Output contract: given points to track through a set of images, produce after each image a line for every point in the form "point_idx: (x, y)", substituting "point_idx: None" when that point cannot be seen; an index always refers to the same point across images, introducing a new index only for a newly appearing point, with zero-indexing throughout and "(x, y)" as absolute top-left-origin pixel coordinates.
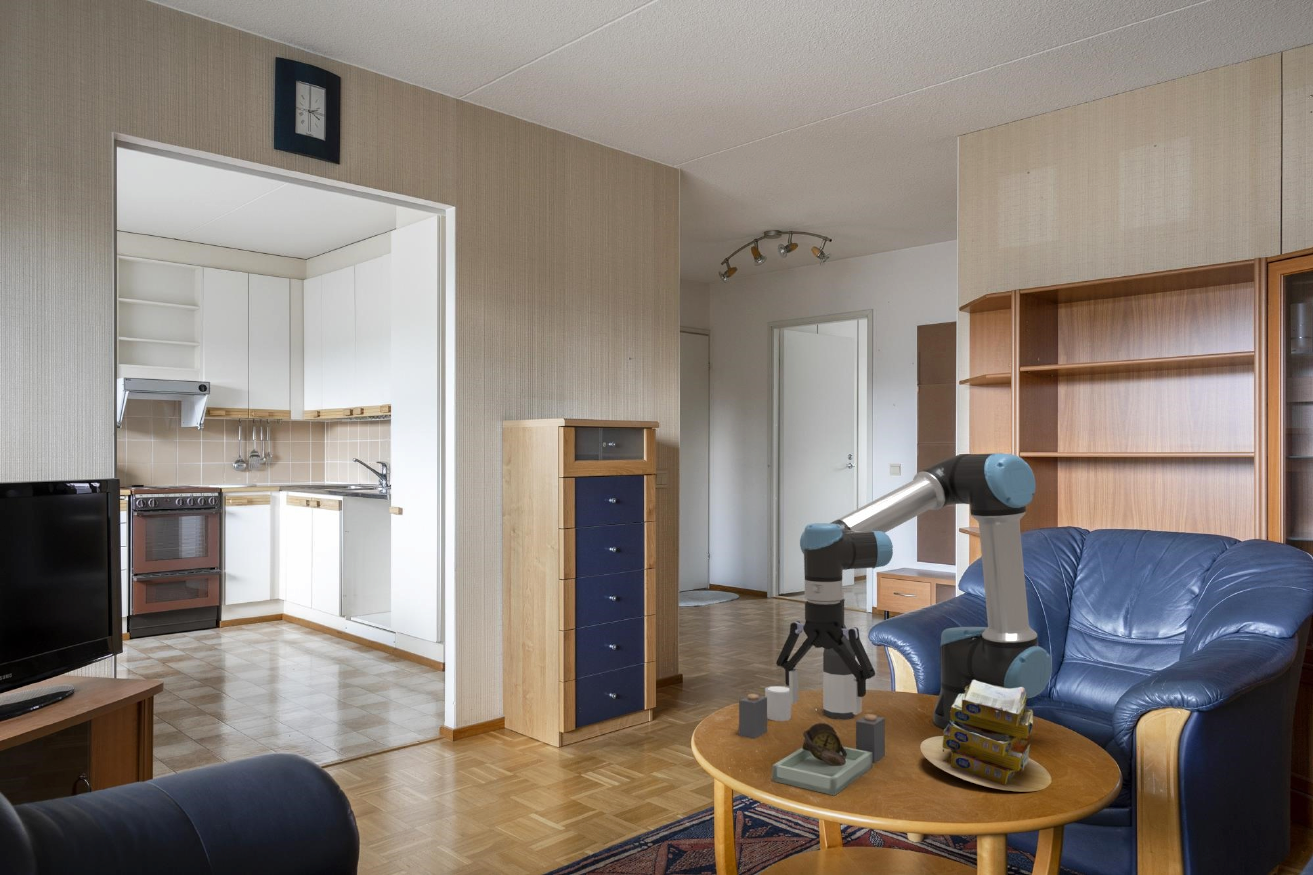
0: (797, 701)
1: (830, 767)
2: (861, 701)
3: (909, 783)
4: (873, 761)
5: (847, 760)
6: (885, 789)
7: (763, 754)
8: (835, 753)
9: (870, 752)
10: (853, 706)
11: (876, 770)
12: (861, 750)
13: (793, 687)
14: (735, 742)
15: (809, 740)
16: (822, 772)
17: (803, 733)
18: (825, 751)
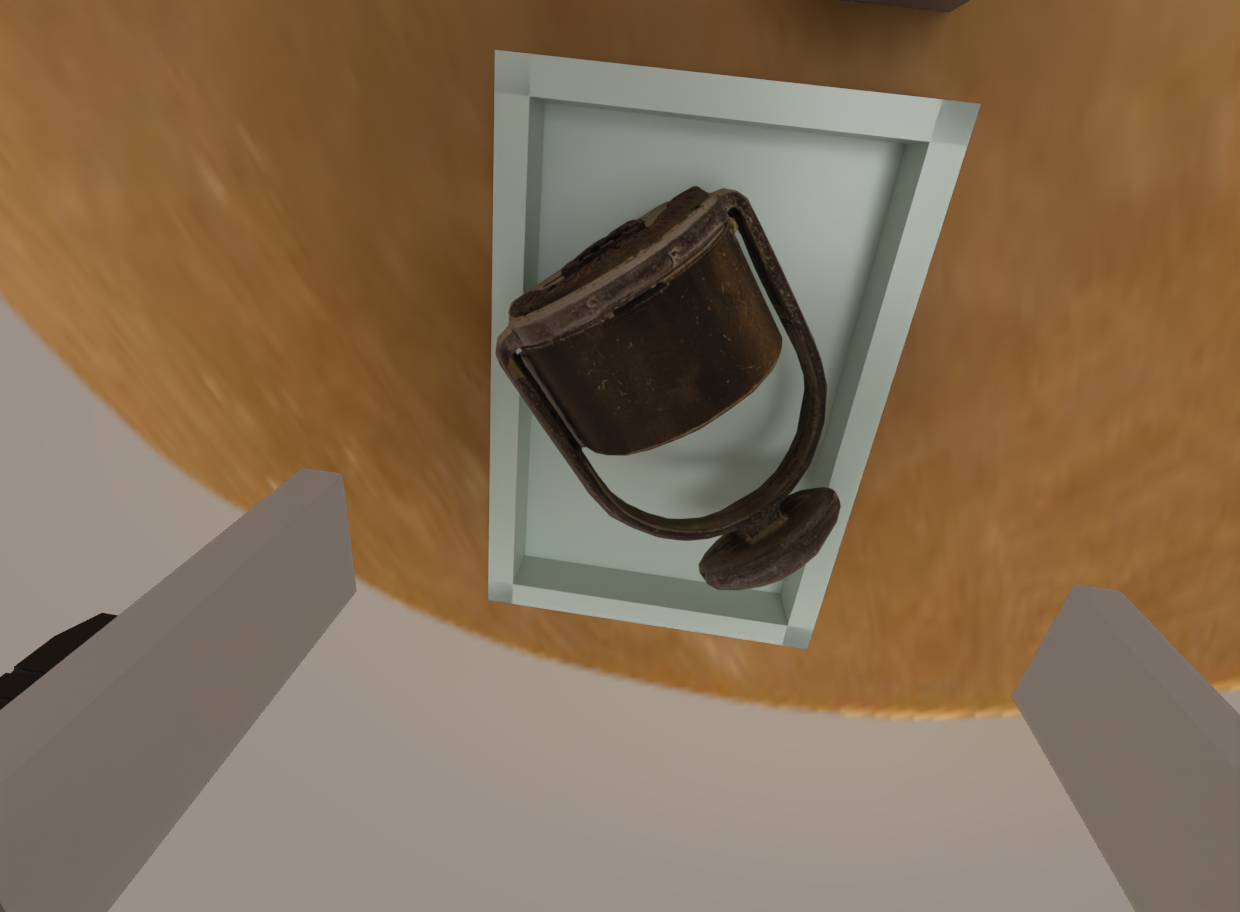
0: (344, 496)
1: None
2: (1202, 685)
3: (1174, 297)
4: (948, 8)
5: (780, 163)
6: (1023, 444)
7: (281, 230)
8: (792, 567)
9: (966, 113)
10: (1061, 769)
11: (969, 162)
12: (892, 100)
13: (246, 707)
14: (22, 91)
15: (597, 501)
16: (691, 439)
17: (496, 355)
18: (734, 585)
